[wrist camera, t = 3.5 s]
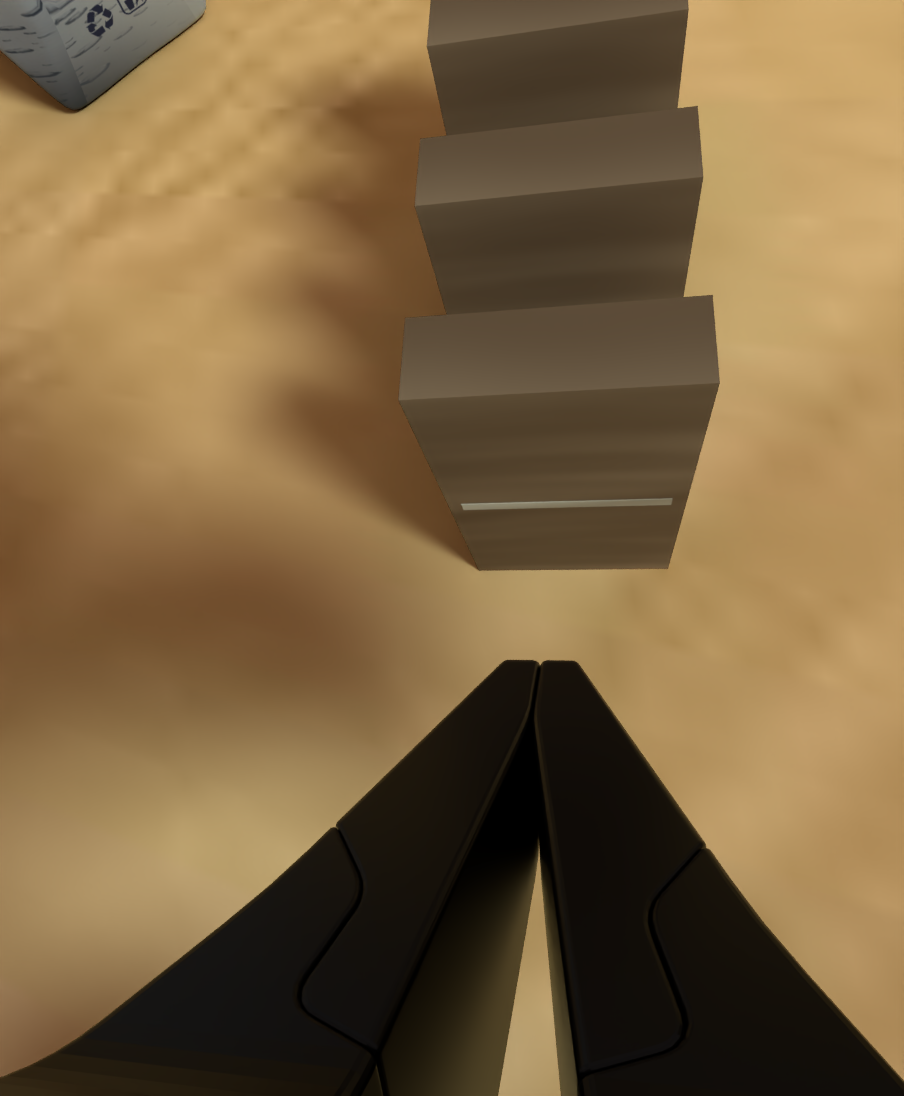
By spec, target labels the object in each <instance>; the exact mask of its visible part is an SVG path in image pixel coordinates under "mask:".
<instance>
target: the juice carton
mask: <svg viewBox="0 0 904 1096" xmlns="http://www.w3.org/2000/svg"><path fill="white" fill-rule="evenodd" d="M205 9H206V0H0V51H1V52H3V53H4V54H5V55H6V56H7V57H8V58H9V59H10V60H11V61H13V62H14V63H15V64H16V65H17V66H18V67H19V68H20V69H22V70H23V71H24V72H25V73H26V74H27V75H28V76H29V77H30V78H32V79H33V80H34V81H35V82H36V83H37V84H38V85H40V86H41V87H42V88H43V89H44V90H45V91H46V92H48V93H49V94H50V95H51V96H52V97H53V98H55V99H56V100H57V101H59V102H60V103H61V104H63V105H64V106H65V107H67V108H70V109H72V110H76V109H81V108H82V107H84V106H86V105H87V104H89V103H90V102H92V101H93V100H94V99H96V98H97V97H98V96H100V95H101V94H102V93H103V92H105V91H106V90H107V89H108V88H110V87H111V86H112V85H113V84H115V83H116V82H117V81H118V80H120V79H121V78H122V77H123V76H124V75H126V74H127V73H128V72H129V71H131V70H132V69H133V68H134V67H136V66H137V65H138V64H139V63H141V62H142V61H143V60H145V59H146V58H147V57H149V56H150V55H151V54H153V53H154V52H155V51H157V50H158V49H160V48H161V47H162V46H164V45H165V44H166V43H168V42H169V41H171V40H172V39H173V38H175V37H176V36H177V35H179V34H180V33H181V32H183V31H184V30H185V29H187V28H188V27H189V26H190V25H192V24H193V23H194V22H195V21H197V20H198V19H199V18H200V17H201V16H202V15H203V13H204V11H205Z"/></svg>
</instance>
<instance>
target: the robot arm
mask: <svg viewBox="0 0 904 1096" xmlns="http://www.w3.org/2000/svg"><path fill="white" fill-rule="evenodd" d="M539 848H540V865H541V880H542V891H543V902H544V914H545V925H546V936H547V947H548V958H549V969H550V980H551V991H552V1002H553V1013H554V1024H555V1035H556V1047H557V1058H558V1069H559V1080H560V1091H561V1096H904V1080H903V1079H902V1078H901V1077H900V1076H899V1075H898V1074H897V1073H896V1071H895V1070H894V1069H893V1068H892V1067H891V1066H890V1065H889V1064H888V1063H887V1061H886V1060H885V1059H884V1058H883V1057H882V1056H881V1055H880V1054H879V1053H878V1051H877V1050H876V1049H875V1048H874V1047H873V1046H872V1045H871V1044H870V1043H869V1041H868V1040H867V1039H866V1038H865V1037H864V1036H863V1035H862V1034H861V1033H860V1031H859V1030H858V1029H857V1028H856V1027H855V1026H854V1025H853V1024H852V1023H851V1021H850V1020H849V1019H848V1018H847V1017H846V1016H845V1015H844V1014H843V1013H842V1011H841V1010H840V1009H839V1008H838V1007H837V1006H836V1005H835V1004H834V1003H833V1001H832V1000H831V999H830V998H829V997H828V996H827V995H826V994H825V993H824V991H823V990H822V989H821V988H820V987H819V986H818V985H817V984H816V983H815V981H814V980H813V979H812V978H811V977H810V976H809V975H808V974H807V972H806V971H805V970H804V969H803V968H802V967H801V965H800V964H799V963H798V962H797V961H796V960H795V958H794V957H793V956H792V955H791V954H790V953H789V952H788V950H787V949H786V948H785V947H784V946H783V945H782V943H781V942H780V941H779V940H778V939H777V938H776V936H775V935H774V934H773V933H772V932H771V931H770V929H769V928H768V927H767V926H766V925H765V924H764V922H763V921H762V920H761V918H760V917H759V916H758V914H757V913H756V912H755V910H754V909H753V908H752V906H751V905H750V904H749V903H748V901H747V900H746V899H745V897H744V896H743V895H742V893H741V892H740V891H739V889H738V888H737V887H736V885H735V884H734V883H733V881H732V880H731V879H730V877H729V876H728V874H727V873H726V872H725V870H724V869H723V867H722V866H721V864H720V863H719V862H718V860H717V859H716V857H715V856H714V854H713V853H712V852H711V850H709V849H707V848H706V844H705V842H704V841H703V839H702V838H701V837H700V835H699V834H698V832H697V831H696V830H695V828H694V827H693V825H692V824H691V822H690V821H689V820H688V818H687V817H686V815H685V814H684V812H683V811H682V810H681V808H680V807H679V805H678V804H677V803H676V801H675V800H674V798H673V797H672V795H671V794H670V793H669V791H668V790H667V788H666V787H665V786H664V784H663V783H662V781H661V780H660V778H659V777H658V776H657V774H656V773H655V771H654V770H653V768H652V767H651V766H650V764H649V763H648V761H647V760H646V759H645V757H644V756H643V754H642V753H641V751H640V750H639V749H638V747H637V746H636V744H635V743H634V742H633V740H632V739H631V737H630V736H629V734H628V733H627V732H626V730H625V729H624V727H623V726H622V725H621V723H620V722H619V720H618V719H617V717H616V716H615V715H614V713H613V712H612V710H611V709H610V707H609V706H608V705H607V703H606V702H605V700H604V699H603V698H602V696H601V695H600V693H599V692H598V690H597V689H596V688H595V686H594V685H593V683H592V682H591V681H590V679H589V678H588V676H587V675H586V673H585V672H584V671H583V669H582V668H581V666H580V665H579V664H578V663H577V662H575V661H553V660H547V661H544V662H542V664H541V666H540V664H539V663H538V662H537V661H534V660H506V661H504V662H502V663H501V664H500V665H499V666H498V667H497V668H496V669H495V670H494V671H493V672H492V673H491V674H490V675H488V676H487V677H486V678H485V679H484V680H483V681H482V682H481V683H480V684H479V685H478V686H477V687H476V688H475V689H474V690H473V691H472V692H471V693H470V694H469V695H468V696H467V697H466V698H465V699H464V700H463V701H462V702H461V703H460V704H459V705H458V706H457V707H455V708H454V709H453V710H452V711H451V712H450V713H449V714H448V715H447V716H446V717H445V718H444V719H443V720H442V721H441V722H440V723H439V724H438V725H437V726H436V727H435V728H434V729H433V730H432V731H431V732H430V733H429V734H428V735H427V736H426V737H425V738H424V739H423V740H421V741H420V742H419V743H418V744H417V745H416V746H415V747H414V748H413V749H412V750H411V751H410V752H409V753H408V754H407V755H406V756H405V757H404V758H403V759H402V760H401V761H400V762H399V763H398V764H397V765H396V766H395V767H394V768H393V769H392V770H391V771H390V772H388V773H387V774H386V775H385V776H384V777H383V778H382V779H381V780H380V781H379V782H378V783H377V784H376V785H375V786H374V787H373V788H372V789H371V790H370V791H369V792H368V793H367V794H366V795H365V796H364V797H363V798H362V799H361V800H360V801H359V802H358V803H357V804H355V805H354V806H353V807H352V808H351V809H350V810H349V811H348V812H347V813H346V814H345V815H344V816H343V817H342V818H341V819H340V820H339V821H338V822H337V824H336V828H335V827H332V828H330V829H329V830H328V831H327V832H326V833H325V834H324V835H323V836H322V837H321V838H320V839H319V840H318V841H317V842H316V843H315V844H314V845H313V846H312V847H311V848H310V849H309V850H308V851H307V852H305V853H304V854H303V855H302V856H301V857H300V858H299V859H298V860H297V861H296V862H295V863H293V864H292V865H291V866H290V867H289V868H288V869H287V870H286V871H285V872H284V873H283V874H281V875H280V876H279V877H278V878H277V879H276V880H275V881H274V882H273V883H272V884H271V885H269V886H268V887H267V888H266V889H265V890H263V891H262V892H261V893H260V894H259V895H257V896H256V897H255V898H254V899H253V900H251V901H250V902H249V903H248V904H247V905H245V906H244V907H243V908H242V909H241V910H239V911H238V912H237V913H236V914H235V915H233V916H232V917H231V918H230V919H228V920H227V921H226V922H225V923H224V924H222V925H221V926H220V927H219V928H217V929H216V930H215V931H214V932H212V933H211V934H210V935H209V936H207V937H206V938H205V939H204V940H202V941H201V942H200V943H199V944H197V945H196V946H195V947H193V948H192V949H191V950H190V951H188V952H187V953H186V954H185V955H183V956H182V957H181V958H180V959H178V960H177V961H176V962H175V963H173V964H172V965H171V966H170V967H168V968H167V969H166V970H164V971H163V972H162V973H161V974H159V975H158V976H157V977H156V978H154V979H153V980H152V981H151V982H149V983H148V984H147V985H146V986H144V987H143V988H142V989H141V990H139V991H138V992H137V993H136V994H134V995H133V996H132V997H130V998H129V999H128V1000H127V1001H125V1002H124V1003H123V1004H122V1005H120V1006H119V1007H118V1008H117V1009H115V1010H114V1011H113V1012H112V1013H110V1014H109V1015H108V1016H107V1017H105V1018H104V1019H103V1020H101V1021H100V1022H99V1023H97V1024H96V1025H95V1026H93V1027H92V1028H91V1029H89V1030H88V1031H87V1032H85V1033H84V1034H82V1035H81V1036H80V1037H78V1038H77V1039H75V1040H74V1041H72V1042H71V1043H69V1044H67V1045H66V1046H64V1047H63V1048H61V1049H59V1050H58V1051H56V1052H55V1053H53V1054H51V1055H49V1056H47V1057H45V1058H43V1059H42V1060H40V1061H38V1062H36V1063H34V1064H32V1065H30V1066H28V1067H25V1068H23V1069H20V1070H18V1071H15V1072H13V1073H10V1074H8V1075H5V1076H3V1077H0V1096H498V1092H499V1087H500V1081H501V1075H502V1069H503V1063H504V1057H505V1052H506V1046H507V1040H508V1034H509V1028H510V1022H511V1016H512V1011H513V1005H514V999H515V993H516V987H517V981H518V976H519V970H520V964H521V958H522V952H523V946H524V940H525V935H526V929H527V923H528V917H529V911H530V905H531V900H532V894H533V888H534V882H535V876H536V869H537V862H538V853H539Z"/></svg>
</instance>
